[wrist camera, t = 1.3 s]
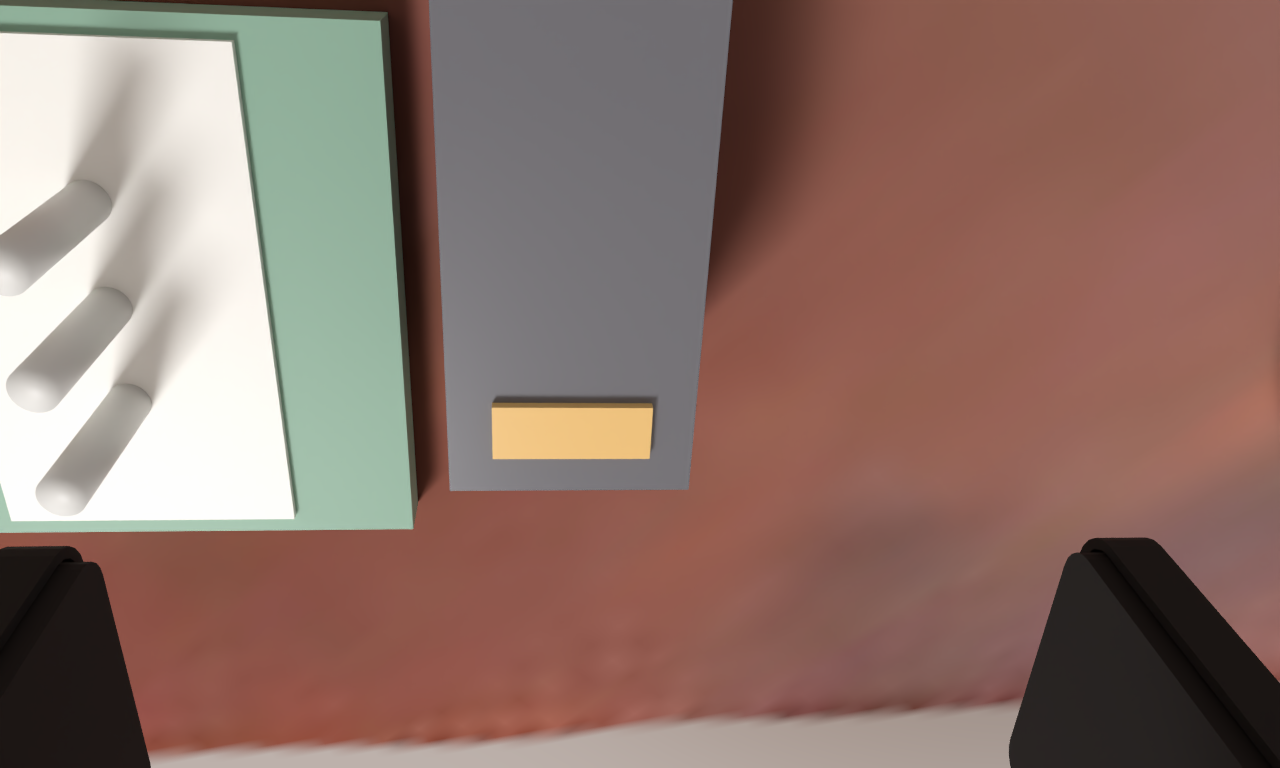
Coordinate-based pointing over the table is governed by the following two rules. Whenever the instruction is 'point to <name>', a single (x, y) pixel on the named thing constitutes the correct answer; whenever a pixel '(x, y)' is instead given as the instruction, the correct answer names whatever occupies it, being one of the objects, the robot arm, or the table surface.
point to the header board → (200, 271)
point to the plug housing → (575, 235)
